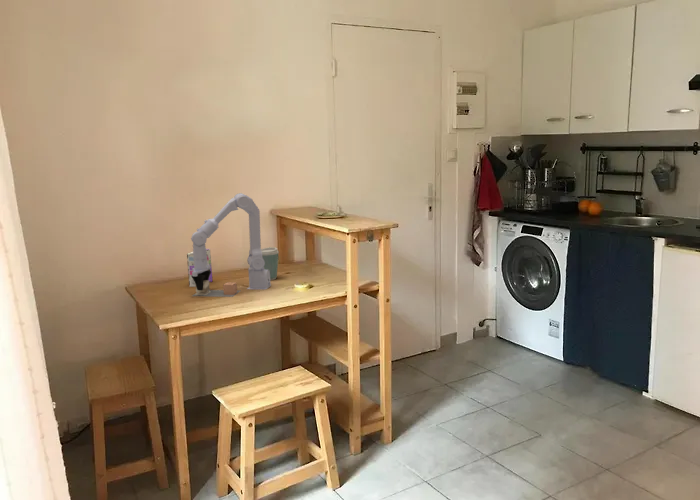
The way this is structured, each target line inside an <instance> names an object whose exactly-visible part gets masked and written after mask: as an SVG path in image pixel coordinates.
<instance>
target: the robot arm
mask: <svg viewBox="0 0 700 500" xmlns="http://www.w3.org/2000/svg"><path fill="white" fill-rule="evenodd" d="M239 209H241V210H243V211H244V212H245V213H247V214H248V229H249V233H248V235H249V252H248V257H247V260H246V261H247V264H248V265H249V267H248V270H247V271H248V283H249V285H248V287H247V288H246V290H267V289H269V288H271V286H272V283H271V280H270V271H269V270H266V269H264V265H265V262H264V259H263V257H262V251H261V249H262V245H261V244H262V243H261V219H260V218H261V213H260V212H261V211H260V209H259V207H258V205H257V204H256V203H255V201H254V200H253V198H251V197H250V196H248V195H247V194H245V193H242V192H241V193H237V194H234V197H232V198H230V199H229V200H228V201H227V203H225V204H224V206H223V207H222V208H220V210H219V212H217V214H216V215H215V216H214V217H213V218H208V219H205V220H203V224H202V225H201V226H200V227H199V228H197V229H196V231H194V232H193V233H192V235H191V238H190V239H191V242H192V252H193V258H194V268H193V269H192V270H193V272H192V278H193V280H194V281H195V284H196V287H197V289H198V290H203V281H204V280H209V276H210V274H211V271H207V270H209V269H210V266H209V265H207V254H206V249H207V247H206V243H207V239H208V238H210V237H211V236H213V234H214V233H215V232H216V231H217V230H218V229H219V224H220V223H221V222H222V220H224V219H225V218H226V217H227V216H228V215H229V214H230V213H231V212H235V211H238V210H239ZM196 287H195V288H196Z"/></svg>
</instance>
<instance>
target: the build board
mask: <svg viewBox="0 0 700 500" xmlns="http://www.w3.org/2000/svg"><path fill="white" fill-rule="evenodd" d="M240 292H241V290H238V289H237V293H235V294H234V295H224V289H210V290H209V291H207V292H196V293H194V294H192V295H191V297H209V298H210V297H217V298H219V297H221V298H225V297H227V298H233V297H234V296H236V295H238V294H239V293H240Z"/></svg>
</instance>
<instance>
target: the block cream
mask: <svg viewBox="0 0 700 500" xmlns="http://www.w3.org/2000/svg"><path fill="white" fill-rule="evenodd" d="M195 285H196V284H195ZM209 290H211V289H210V282H209V280H204V281H203V290H198V289H197V287H195V292H196V293H197V292H207V291H209Z"/></svg>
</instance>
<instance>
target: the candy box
mask: <svg viewBox="0 0 700 500" xmlns="http://www.w3.org/2000/svg"><path fill="white" fill-rule="evenodd" d="M206 254H207V265H209V266H210V269H209V270H207V271H211V274H210V276H209V283H212V282H213V271H212V270H213V269H212V256H211V248H206ZM186 260H187V273H188V287H189V288H191V287H192V288H196V285H195V281H194V280H193V278H192V272H193V270H192V269H193V268H194V258H193V251H191V252H189V253H187V254H186Z"/></svg>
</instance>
